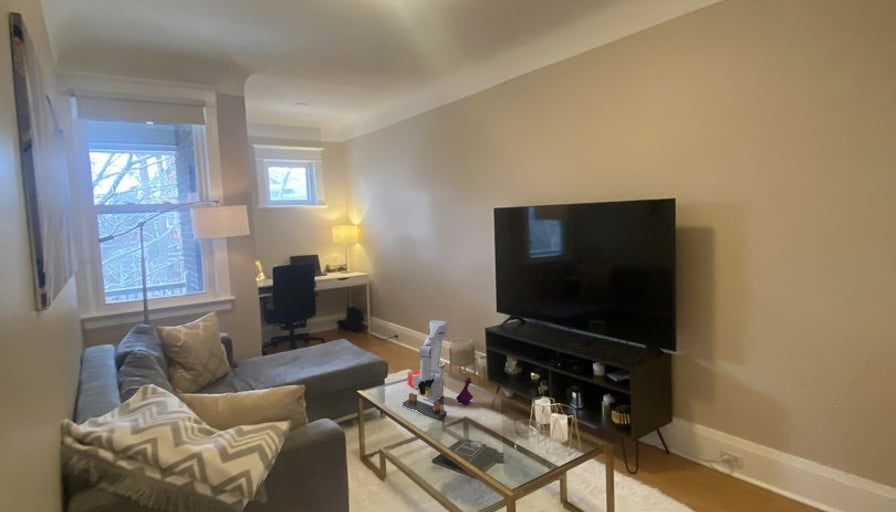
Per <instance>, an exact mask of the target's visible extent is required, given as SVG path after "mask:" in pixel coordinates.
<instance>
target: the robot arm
mask: <svg viewBox="0 0 896 512" xmlns="http://www.w3.org/2000/svg"><path fill="white" fill-rule="evenodd" d="M428 328H429V332H430V333H429V336H427V337H426V338H425V340H424V343H423V345H422V346H420V348H419V361H420V369H419V370H420V376H419V377H418V379H417V380H415V384H417V385H418V387H419V390H420V394H421V395H424V394H425V387H426V386H427V387H430V388H432V396H430V397H428V398H424V397H423V396H422V399H423V398H424V399H423V400H425V399H426V401H427V402H432V403H437V401H439V400H441V399H440V398H439V397H440V396H443V379H444V378H443V373H444V371H443V368H441V367H440V359H441V353H442V348H443V340H444V338H445V337H447V335H448V329H449V323H448V321H447V320H446V321H445V320H437V319H431V320H430V321H429V325H428ZM424 382H425V383H424ZM421 395H420V396H421ZM438 398H439V400H438Z"/></svg>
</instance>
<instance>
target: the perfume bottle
mask: <svg viewBox="0 0 896 512" xmlns="http://www.w3.org/2000/svg"><path fill="white" fill-rule="evenodd" d="M464 374H465V375H466V376H467V377H466V378H465V379H464V380H463V381H464V385H463V389H462V390H461V391H460V392H459V394H458V395H457V396H456V397H455V400H456V401H457V402H458V404H459V403H462V404H461V405H463V404H467V405H469V403H470V402H471V401H472V399H473V398H474V395H472V394H471V393H470V391H469V390H468V388H469V385H470V384H472V378H471V377H469V372H468V371H463V372H462V374H461V375H464ZM470 400H471V401H470Z"/></svg>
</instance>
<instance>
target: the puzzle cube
mask: <svg viewBox="0 0 896 512" xmlns="http://www.w3.org/2000/svg"><path fill="white" fill-rule="evenodd" d="M419 376H420V369H416V370H410V371H407V383H406V384H407V385H408V386H409V387H411V388H412V389H413V390H416V389H418V385H417V384H415V380H417V379H418V377H419ZM424 383H425V382H424Z"/></svg>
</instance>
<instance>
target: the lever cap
mask: <svg viewBox="0 0 896 512" xmlns="http://www.w3.org/2000/svg"><path fill="white" fill-rule="evenodd" d="M417 389H418V391H417V396H420V397H422V398H423V397H426V398H428V397H430V396H432V388H430V387H427V386H426V387H425V394H424V395H421V394H420V390H419V387H418V388H417Z"/></svg>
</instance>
